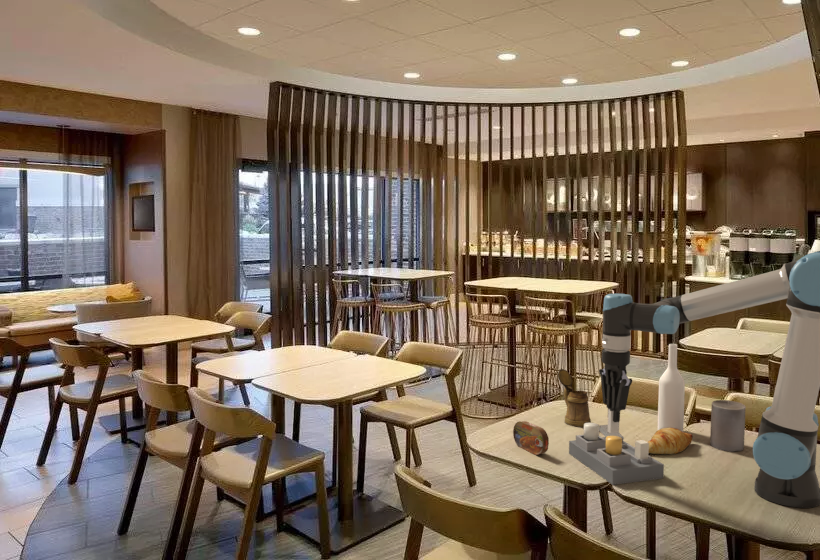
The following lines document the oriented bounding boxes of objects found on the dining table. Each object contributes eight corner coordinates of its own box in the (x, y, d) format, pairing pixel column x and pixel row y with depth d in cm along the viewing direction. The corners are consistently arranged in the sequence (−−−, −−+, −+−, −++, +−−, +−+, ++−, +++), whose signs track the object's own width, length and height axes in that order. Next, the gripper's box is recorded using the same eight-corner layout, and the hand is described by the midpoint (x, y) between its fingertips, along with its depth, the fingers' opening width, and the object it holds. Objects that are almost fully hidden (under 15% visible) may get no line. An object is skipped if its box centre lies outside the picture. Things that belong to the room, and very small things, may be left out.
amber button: (625, 454, 176) (625, 440, 176) (611, 455, 175) (611, 441, 175) (616, 448, 181) (616, 435, 180) (602, 450, 179) (602, 436, 179)
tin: (512, 443, 204) (512, 418, 203) (520, 442, 206) (520, 416, 205) (542, 459, 191) (542, 432, 190) (550, 457, 192) (550, 430, 191)
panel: (663, 478, 176) (664, 455, 175) (612, 484, 172) (613, 461, 171) (614, 448, 199) (615, 428, 198) (568, 453, 195) (569, 432, 194)
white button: (601, 439, 188) (601, 426, 187) (588, 441, 187) (588, 428, 186) (593, 434, 192) (594, 422, 192) (580, 436, 191) (581, 423, 191)
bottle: (679, 428, 218) (682, 342, 215) (686, 435, 210) (689, 347, 207) (655, 427, 219) (657, 341, 216) (660, 434, 211) (663, 346, 208)
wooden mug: (568, 414, 234) (569, 366, 232) (596, 424, 222) (597, 374, 221) (550, 418, 230) (551, 369, 228) (578, 428, 218) (579, 377, 216)
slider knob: (648, 460, 178) (648, 443, 177) (640, 461, 177) (640, 443, 177) (642, 456, 180) (643, 439, 180) (634, 457, 180) (635, 440, 179)
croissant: (652, 469, 191) (663, 450, 187) (629, 445, 198) (639, 426, 194) (697, 454, 202) (708, 436, 198) (673, 432, 209) (683, 414, 205)
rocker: (622, 442, 190) (623, 437, 190) (612, 443, 190) (613, 438, 189) (609, 429, 198) (610, 424, 197) (599, 430, 197) (599, 425, 196)
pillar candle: (712, 438, 207) (714, 394, 205) (746, 444, 201) (747, 398, 200) (707, 448, 199) (708, 402, 197) (742, 454, 193) (744, 406, 192)
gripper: (591, 345, 180) (589, 425, 183) (617, 355, 168) (614, 440, 170) (614, 344, 182) (612, 423, 185) (642, 353, 170) (638, 438, 172)
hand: (613, 431), depth 177 cm, fingers closed
